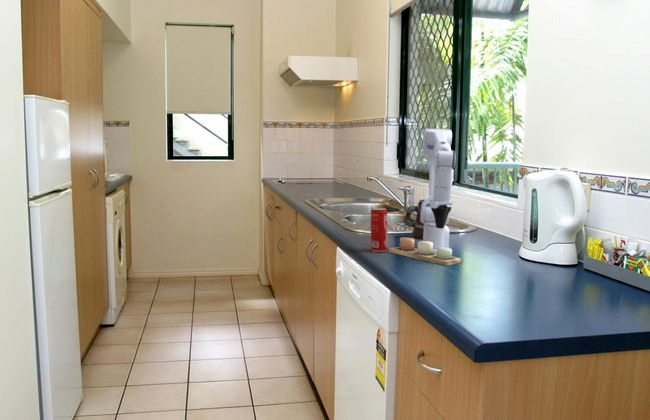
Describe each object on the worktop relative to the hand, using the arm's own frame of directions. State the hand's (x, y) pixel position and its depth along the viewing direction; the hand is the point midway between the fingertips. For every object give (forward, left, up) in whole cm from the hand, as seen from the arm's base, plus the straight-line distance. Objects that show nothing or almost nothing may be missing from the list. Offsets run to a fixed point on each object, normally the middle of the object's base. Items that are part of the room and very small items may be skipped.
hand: (439, 228), depth 204 cm
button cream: (+1, -4, -9) cm, 10 cm away
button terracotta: (+1, -13, -9) cm, 15 cm away
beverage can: (+8, -20, -11) cm, 24 cm away
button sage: (+1, +3, -10) cm, 11 cm away
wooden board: (+1, -4, -10) cm, 11 cm away
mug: (-29, -31, -11) cm, 44 cm away
